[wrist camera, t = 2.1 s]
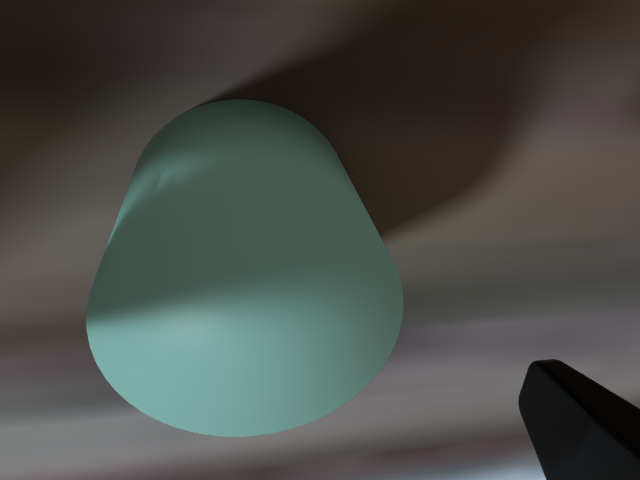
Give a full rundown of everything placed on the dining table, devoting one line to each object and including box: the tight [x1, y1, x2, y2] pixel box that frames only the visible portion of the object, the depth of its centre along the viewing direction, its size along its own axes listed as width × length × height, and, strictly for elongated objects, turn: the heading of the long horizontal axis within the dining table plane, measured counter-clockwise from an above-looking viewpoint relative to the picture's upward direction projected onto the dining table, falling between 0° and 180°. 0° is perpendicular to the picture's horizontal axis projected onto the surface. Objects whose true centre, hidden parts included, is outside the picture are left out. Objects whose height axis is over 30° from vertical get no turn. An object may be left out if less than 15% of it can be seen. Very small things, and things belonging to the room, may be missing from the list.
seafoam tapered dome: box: [86, 99, 403, 437], centre depth 11 cm, size 6×6×5 cm
